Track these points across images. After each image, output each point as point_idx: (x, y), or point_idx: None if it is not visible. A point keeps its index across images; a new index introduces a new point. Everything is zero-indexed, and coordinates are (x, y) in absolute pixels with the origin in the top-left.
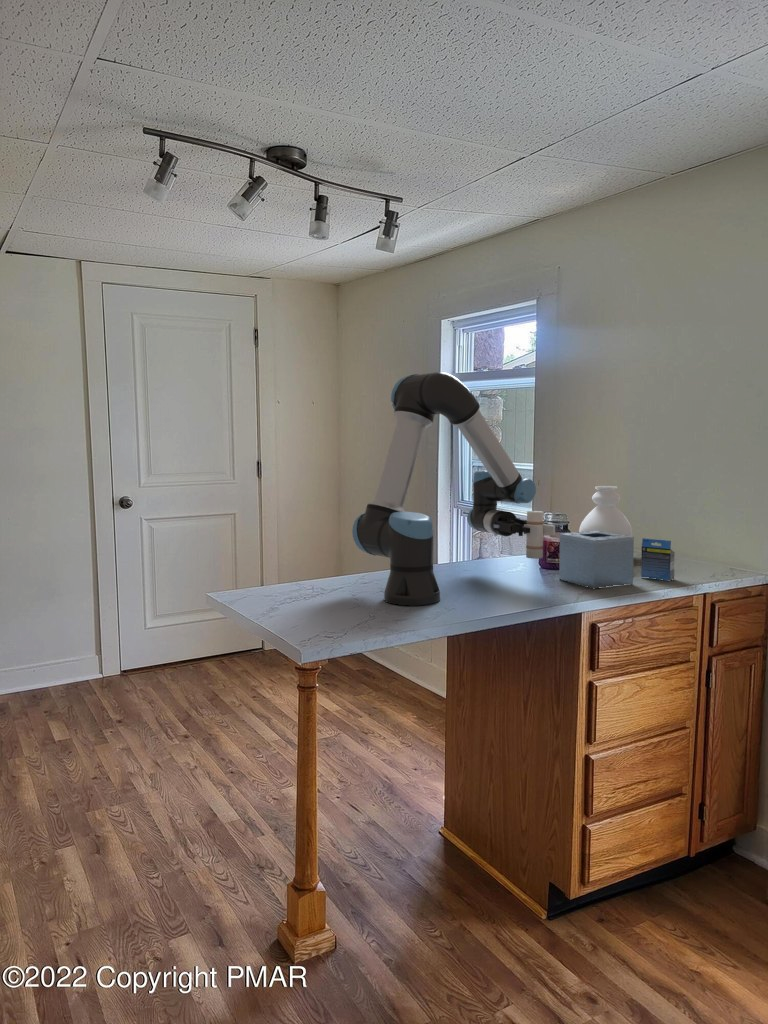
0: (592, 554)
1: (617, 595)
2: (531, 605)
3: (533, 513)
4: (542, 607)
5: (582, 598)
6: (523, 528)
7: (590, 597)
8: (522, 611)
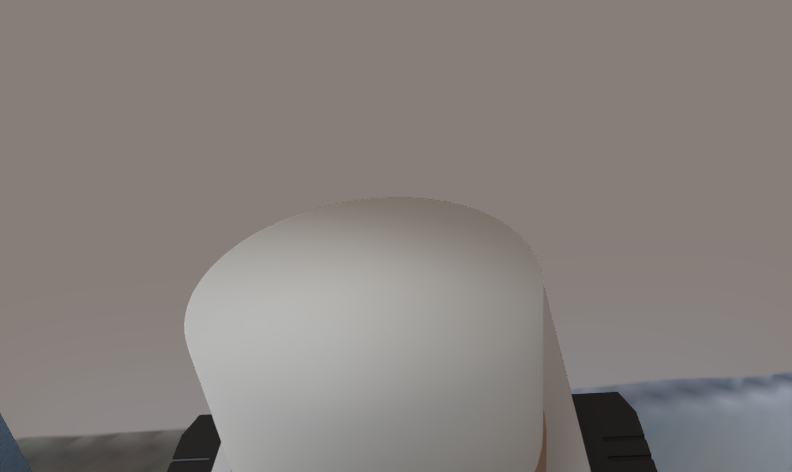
0: (11, 469)
1: (161, 449)
2: (685, 449)
3: (483, 228)
4: (642, 404)
5: None
6: (650, 468)
7: None
8: (765, 384)
